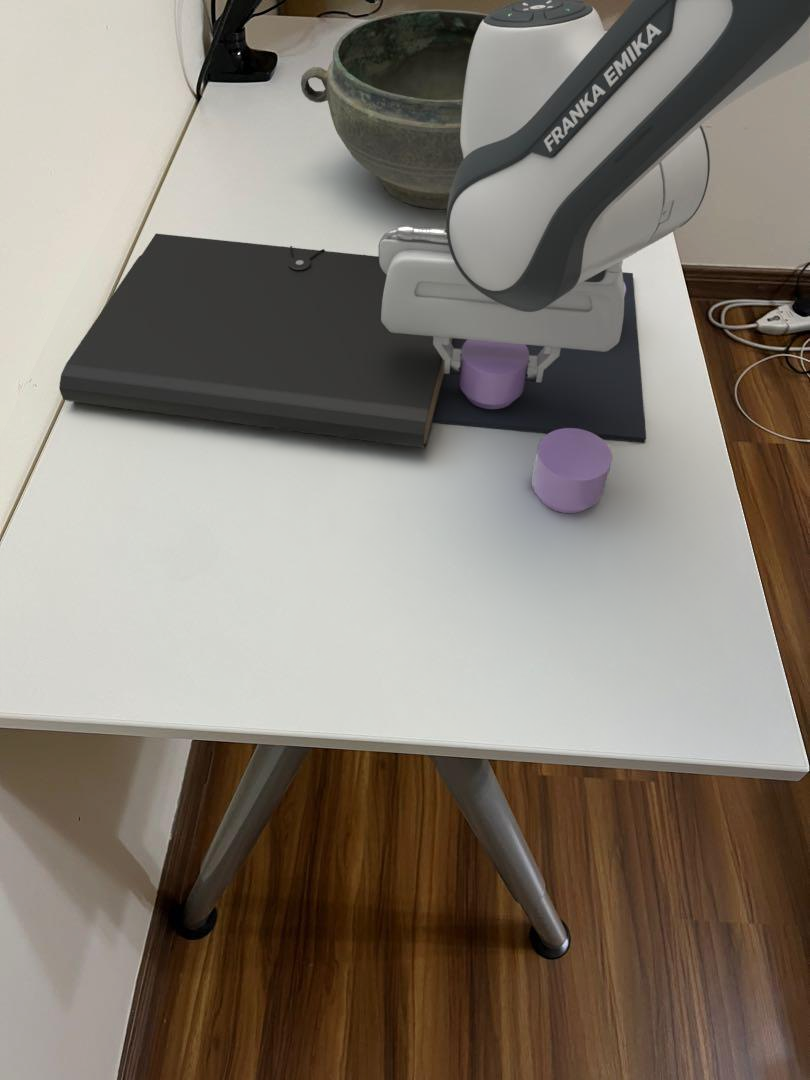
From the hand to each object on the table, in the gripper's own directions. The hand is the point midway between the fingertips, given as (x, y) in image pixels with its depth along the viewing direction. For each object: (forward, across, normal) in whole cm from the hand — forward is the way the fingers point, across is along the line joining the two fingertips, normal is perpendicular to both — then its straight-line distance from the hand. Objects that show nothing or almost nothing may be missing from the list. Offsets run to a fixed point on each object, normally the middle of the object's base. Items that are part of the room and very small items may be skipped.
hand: (493, 374), depth 77 cm
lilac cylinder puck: (+2, 0, 0) cm, 2 cm away
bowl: (+3, -9, +40) cm, 41 cm away
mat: (+3, +4, +9) cm, 10 cm away
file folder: (+3, -21, +4) cm, 21 cm away
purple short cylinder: (+3, +7, -11) cm, 13 cm away
